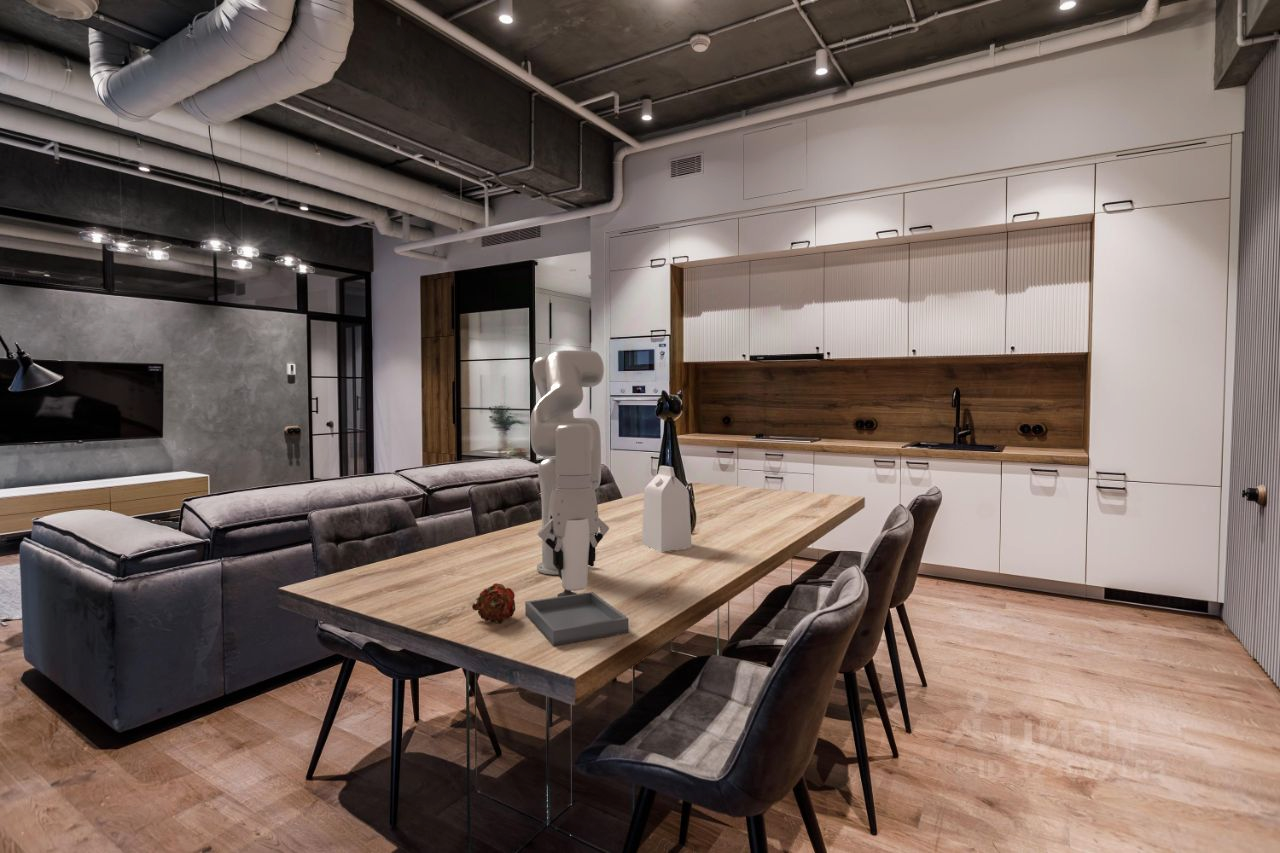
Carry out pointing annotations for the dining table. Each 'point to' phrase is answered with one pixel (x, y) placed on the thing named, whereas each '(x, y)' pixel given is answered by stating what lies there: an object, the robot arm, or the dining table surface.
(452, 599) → the dining table surface
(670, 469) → the milk
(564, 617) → the tray
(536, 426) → the robot arm
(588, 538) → the drinking glass
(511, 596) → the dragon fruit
